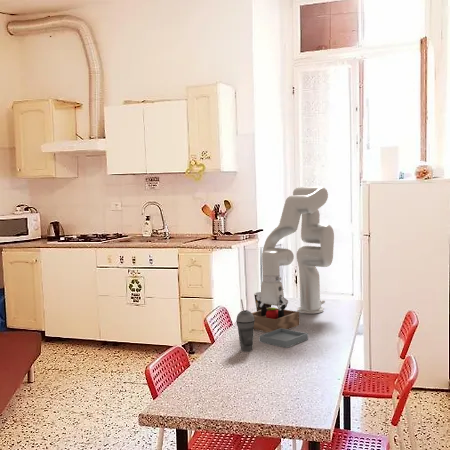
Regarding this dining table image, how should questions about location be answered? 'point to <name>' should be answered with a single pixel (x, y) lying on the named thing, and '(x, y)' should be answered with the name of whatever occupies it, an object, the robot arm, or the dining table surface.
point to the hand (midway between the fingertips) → (272, 317)
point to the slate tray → (283, 337)
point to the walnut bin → (276, 321)
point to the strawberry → (272, 313)
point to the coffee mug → (258, 303)
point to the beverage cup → (245, 329)
